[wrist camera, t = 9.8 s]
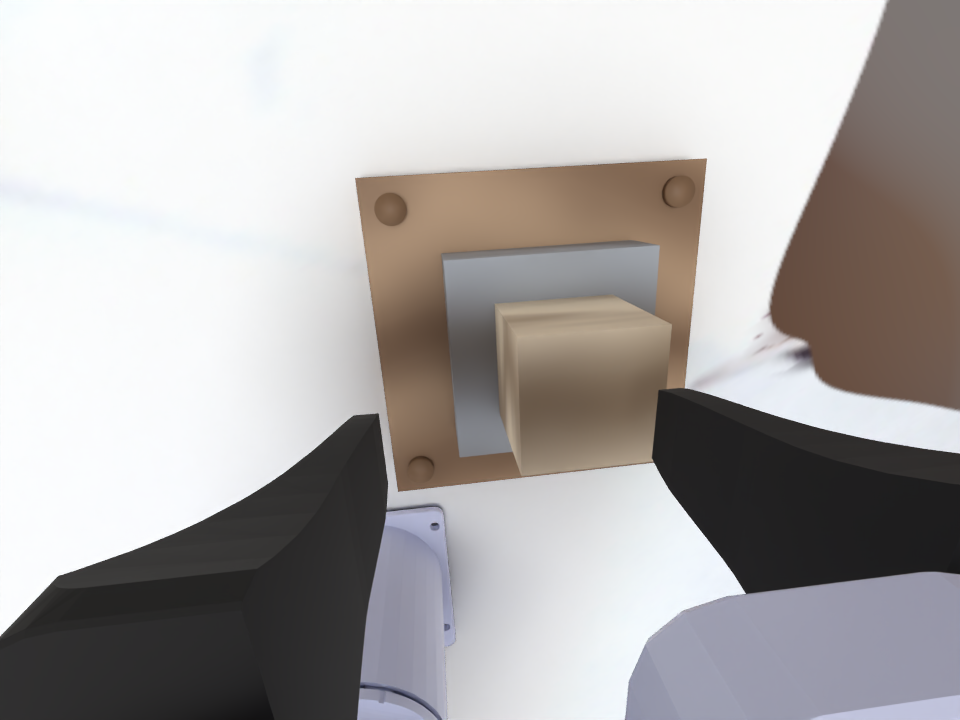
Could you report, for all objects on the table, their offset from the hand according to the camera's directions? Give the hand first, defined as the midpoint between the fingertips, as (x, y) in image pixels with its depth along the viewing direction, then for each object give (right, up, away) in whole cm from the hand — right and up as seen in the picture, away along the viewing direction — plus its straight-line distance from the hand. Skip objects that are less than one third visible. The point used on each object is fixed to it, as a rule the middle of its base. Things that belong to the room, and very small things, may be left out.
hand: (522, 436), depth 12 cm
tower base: (+1, +3, +10) cm, 11 cm away
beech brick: (+2, +2, +6) cm, 7 cm away
